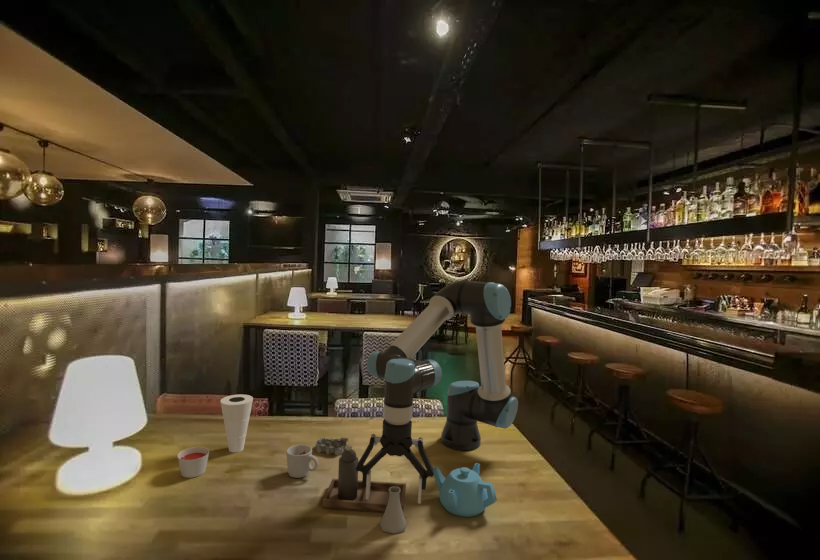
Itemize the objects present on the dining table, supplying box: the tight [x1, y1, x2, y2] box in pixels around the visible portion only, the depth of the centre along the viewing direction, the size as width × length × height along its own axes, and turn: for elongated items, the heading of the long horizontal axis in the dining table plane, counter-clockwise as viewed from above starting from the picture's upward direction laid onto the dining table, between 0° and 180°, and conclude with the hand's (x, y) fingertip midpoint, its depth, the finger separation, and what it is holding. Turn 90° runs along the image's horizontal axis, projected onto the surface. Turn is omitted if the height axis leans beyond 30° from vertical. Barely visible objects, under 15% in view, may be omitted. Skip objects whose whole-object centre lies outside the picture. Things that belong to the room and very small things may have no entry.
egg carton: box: [314, 437, 349, 457], centre depth 158 cm, size 11×8×4 cm
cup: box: [285, 444, 319, 479], centre depth 139 cm, size 11×8×8 cm
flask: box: [379, 486, 408, 534], centre depth 116 cm, size 7×7×10 cm
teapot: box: [432, 462, 498, 518], centre depth 126 cm, size 15×15×11 cm
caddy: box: [322, 478, 407, 514], centre depth 127 cm, size 22×12×2 cm, turn 87°
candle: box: [177, 446, 210, 479], centre depth 138 cm, size 9×9×6 cm
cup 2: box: [220, 394, 254, 453], centre depth 154 cm, size 11×11×18 cm
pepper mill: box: [337, 444, 359, 501], centre depth 127 cm, size 6×6×15 cm
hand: (393, 498), depth 115 cm, fingers open, 13 cm apart
